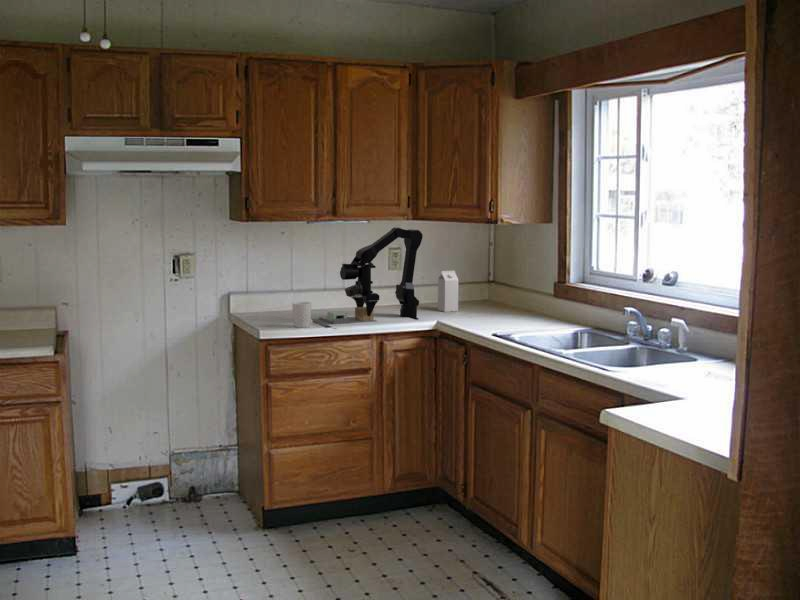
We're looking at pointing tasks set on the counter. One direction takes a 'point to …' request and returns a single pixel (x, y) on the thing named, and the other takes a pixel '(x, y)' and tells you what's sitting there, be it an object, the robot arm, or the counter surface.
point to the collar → (362, 314)
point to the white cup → (301, 314)
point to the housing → (336, 315)
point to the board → (337, 321)
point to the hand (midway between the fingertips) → (364, 314)
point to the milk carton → (448, 291)
